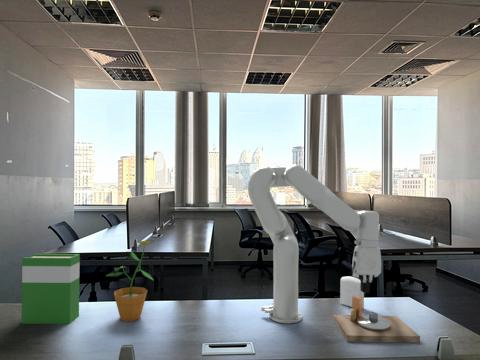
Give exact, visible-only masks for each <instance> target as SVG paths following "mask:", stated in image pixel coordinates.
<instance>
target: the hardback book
mask: <svg viewBox="0 0 480 360" xmlns="http://www.w3.org/2000/svg"><path fill="white" fill-rule="evenodd" d="M80 256H81V255H80V253H72V254H71V253H33V254H32V256H31V257H30V256H29V257H22V259H21V261H22V262H21V263H22V264H21V267H22V271H21V272H22V273H21V277H22V278H21V324H25V325H27V324H29V325H30V324H38V325H40V324H43V325H47V324H49V325H50V324H52V325H53V324H54V325H56V324H57V325H59V324H60V325H66V324H69V325H70V324H72V323H73V322H74V321H75V320H76V319H77V318H78V317H80V264H81V263H80V261H81V258H80Z"/></svg>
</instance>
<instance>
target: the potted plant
mask: <svg viewBox="0 0 480 360" xmlns="http://www.w3.org/2000/svg"><path fill="white" fill-rule="evenodd" d="M151 242H152V240H141V241H140V240H139V241H135V242H133V244H134V243H135V244H139V245H141V246H142V247H143V251H142V254H141V257H138V256H137V255H136V254H135V253H134V252H133V251H130V252H129V255H128V258H127V259H129V260H133V261H136V262H137V261H138V262H139V263H138V265H137V267H136V269H135V271H134V273H133V276H132V278H131V277H130V276H129V275H128V274H127V273H126V272H125V269H128V267H127V266H124V265H122V266H120V267H113V270H112V271H110V272H109V273H106V275H105V276H104V277H113V278H118V277H120V276H121V275H123V274H125V276H127V278H128V279H129V280H130V281H131V282H130V286H129V287H121V288H120V289H117V290H115V291H114V292H113V293H114V294H113V296H114V300H115V303H116V308H117V311H118V315H119V318H120V321H123V322H133V321H137V320H139V319H141V315H142V313H143V309H144V305H145V301H146V298H147V294H148V289H146V288H145V287H142V286H141V287H140V286H133V282H134V279H135V277H136V274H137V273H138V272H140V273H141V274H142V275H143V276H144V278H147V279H149V280H152V281H154V278H153V277H152V275H151V273H149V272H146V271H144V270H143V269H141V268H142V267H141V263H142V260H143V257H144V254H145V247H146V246H147V244H149V243H151ZM121 269H122V270H123V271H120V270H121Z"/></svg>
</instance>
